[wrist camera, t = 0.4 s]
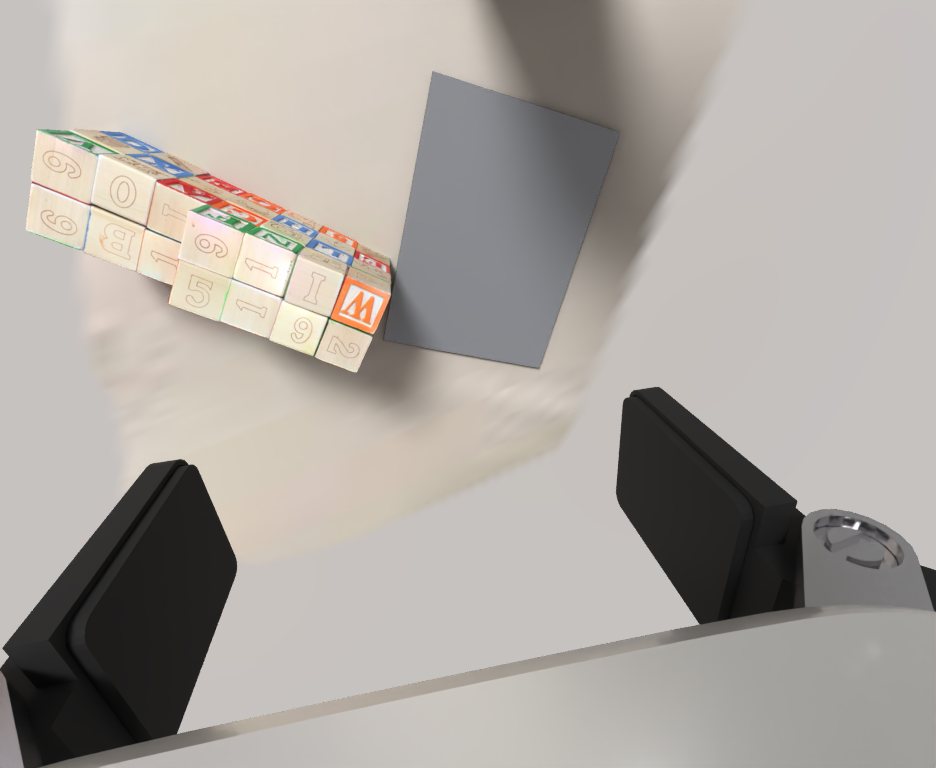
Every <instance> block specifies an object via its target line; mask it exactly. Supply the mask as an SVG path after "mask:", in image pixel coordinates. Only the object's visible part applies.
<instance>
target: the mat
mask: <svg viewBox="0 0 936 768" xmlns="http://www.w3.org/2000/svg"><path fill="white" fill-rule="evenodd" d="M619 135H620V132H618V131H615V130H611V129H608V128H605V127H602V126H599V125H596V124H593V123H590V122H587V121H584V120H581V119H578V118H575V117H572V116H569V115H565V114H562V113H559V112H556V111H553V110H550V109H547V108H544V107H541V106H538V105H535V104H532V103H529V102H526V101H522V100H519V99H516V98H513V97H510V96H507V95H504V94H501V93H498V92H495V91H492V90H489V89H486V88H483V87H480V86H476V85H473V84H470V83H467V82H464V81H461V80H458V79H455V78H452V77H449V76H446V75H443V74H440V73H437V72H434V71H433V72H432V78H431V83H430V89H429V94H428V100H427V105H426V111H425V116H424V121H423V127H422V132H421V138H420V143H419V149H418V154H417V160H416V165H415V171H414V176H413V182H412V187H411V192H410V198H409V203H408V209H407V214H406V220H405V225H404V231H403V236H402V242H401V247H400V253H399V258H398V263H397V269H396V274H395V280H394V285H393V291H392V296H391V302H390V307H389V313H388V318H387V324H386V329H385V334H384V341H389V342H395V343H400V344H406V345H412V346H417V347H423V348H429V349H434V350H440V351H446V352H451V353H457V354H463V355H468V356H474V357H479V358H485V359H491V360H496V361H502V362H508V363H513V364H519V365H525V366H530V367H536V368H539V367H540V364H541V362H542V359H543V356H544V353H545V350H546V347H547V344H548V341H549V338H550V335H551V332H552V329H553V327H554V324H555V321H556V318H557V315H558V312H559V309H560V306H561V303H562V300H563V297H564V295H565V292H566V289H567V286H568V283H569V280H570V277H571V274H572V271H573V268H574V265H575V263H576V260H577V257H578V254H579V251H580V248H581V245H582V242H583V239H584V236H585V233H586V231H587V228H588V225H589V222H590V219H591V216H592V213H593V210H594V207H595V204H596V201H597V199H598V196H599V193H600V190H601V187H602V184H603V181H604V178H605V175H606V172H607V169H608V167H609V164H610V161H611V158H612V155H613V152H614V149H615V146H616V143H617V140H618V137H619Z"/></svg>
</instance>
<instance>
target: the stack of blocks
mask: <svg viewBox="0 0 936 768" xmlns="http://www.w3.org/2000/svg"><path fill="white" fill-rule="evenodd" d="M31 180H32V185H31V190H30V197H29V205H28V214H27V222H26V230H27V231H29V232H31V233H34V234H37V235H39V236H42V237H45V238H48V239H51V240H53V241H56V242H59V243H61V244H64V245H66V246H69V247H72V248H75V249H78V250H83V251H84V253H86V254H89V255H91V256H94V257H97V258H99V259H102V260H105V261H107V262H110V263H113V264H116V265H119V266H121V267H124V268H126V269H129V270H132V271H136V272H138V273H140V274H142V275H144V276H147V277H150V278H152V279H155V280H158V281H161V282H164V283H167V284H169V285H172V290H171V293H170V297H169V301H168V304H169V305H172V306H175V307H178V308H180V309H183V310H186V311H189V312H192V313H195V314H198V315H200V316H203V317H206V318H209V319H211V320H214V321H217V322H219V321H221V322H223V323H226V324H228V325H231V326H233V327H236V328H239V329H242V330H245V331H248V332H251V333H253V334H256V335H259V336H262V337H265V338H268V339H269V340H270V341H272V342H275V343H278V344H280V345H283V346H286V347H288V348H291V349H294V350H297V351H299V352H302V353H305V354H308V355H311V356H315V357H316V358H317V359H319V360H322V361H325V362H327V363H330V364H333V365H335V366H338V367H341V368H343V369H346V370H349V371H351V372H355V373H356V372H358V369H359V367H360V365H361V363H362V360H363V358H364V356H365V354H366V352H367V349H368V347H369V345H370V343H371V341H372V338H373V334H374V333H375V331H376V329H377V327H378V324H379V322H380V320H381V318H382V316H383V313H384V311H385V309H386V306H387V304H388V302H389V299H390V297H391V275H390V259H389V258H388V257H386V256H384V255H381V254H379V253H377V252H375V251H373V250H371V249H369V248H367V247H365V246H363V245H360V244H358V243H357V242H356V241H354V240H352V239H350V238H348V237H346V236H344V235H342V234H339V233H337V232H335V231H333V230H331V229H329V228H327V227H324V226H322V225H320V224H318V223H316V222H315V221H312V220H310V219H308V218H306V217H304V216H302V215H300V214H297V213H295V212H293V211H291V210H285V209H283V208H282V207H279V206H277V205H275V204H272V203H271V202H269V201H266V200H264V199H262V198H260V197H258V196H256V195H254V194H252V193H247V192H245V191H243V190H241V189H239V188H237V187H235V186H233V185H231V184H228V183H226V182H224V181H222V180H220V179H218V178H216V177H213V176H211V175H209V174H208V172H206V171H204V170H202V169H200V168H198V167H196V166H194V165H192V164H189V163H187V162H185V161H183V160H181V159H179V158H177V157H175V156H172V155H170V154H168V153H164V152H162V151H160V150H158V149H156V148H154V147H152V146H150V145H148V144H146V143H143V142H141V141H139V140H137V139H135V138H133V137H130V136H128V135H126V134H124V133H120V132H105V131H96V130H82V129H70V131H63V130H48V129H47V130H40V129H37V133H36V140H35V149H34V157H33V164H32V171H31Z"/></svg>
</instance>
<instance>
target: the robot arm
mask: <svg viewBox="0 0 936 768" xmlns="http://www.w3.org/2000/svg"><path fill="white" fill-rule="evenodd" d="M616 495H617V499H618V502H619V505H620V507H621V508H622V510H623V511H624V513H625V514H626V516H627V517H628V519H629V520H630V522H631V523H632V525H633V526H634V527H635V529H636V531H637V532H638V534H639V535H640V536H641V538H642V539H643V541H644V542H645V544H646V545H647V547H648V548H649V550H650V551H651V553H652V554H653V556H654V557H655V559H656V560H657V562H658V563H659V564H660V566H661V568H662V569H663V570H664V572H665V573H666V575H667V577H668V578H669V579H670V581H671V582H672V584H673V585H674V587H675V588H676V590H677V591H678V593H679V594H680V596H681V597H682V599H683V600H684V602H685V603H686V605H687V606H688V607H689V609H690V611H691V612H692V613H693V615H694V617H695V618H696V620H697V621H698V623H699V624H700V625H696V626H691V627H685V628H680V629H675V630H670V631H665V632H660V633H655V634H650V635H645V636H641V637H635V638H631V639H626V640H621V641H616V642H611V643H606V644H601V645H596V646H592V647H586V648H581V649H577V650H572V651H567V652H563V653H557V654H552V655H547V656H543V657H537V658H533V659H528V660H523V661H518V662H513V663H509V664H504V665H499V666H494V667H489V668H485V669H480V670H475V671H470V672H465V673H461V674H456V675H451V676H446V677H442V678H437V679H433V680H427V681H423V682H418V683H413V684H408V685H404V686H399V687H395V688H389V689H385V690H380V691H375V692H371V693H366V694H361V695H356V696H352V697H347V698H342V699H338V700H333V701H328V702H323V703H319V704H314V705H310V706H305V707H300V708H296V709H291V710H287V711H282V712H278V713H273V714H268V715H263V716H259V717H254V718H249V719H245V720H241V721H236V722H231V723H226V724H221V725H217V726H212V727H208V728H203V729H199V730H194V731H190V732H185V733H180V734H177V732H178V729H179V727H180V724H181V722H182V719H183V716H184V713H185V711H186V708H187V705H188V702H189V700H190V697H191V695H192V692H193V689H194V687H195V684H196V681H197V678H198V675H199V673H200V670H201V668H202V665H203V662H204V659H205V657H206V654H207V652H208V649H209V646H210V643H211V641H212V638H213V635H214V633H215V630H216V627H217V625H218V622H219V619H220V617H221V614H222V611H223V608H224V606H225V603H226V600H227V598H228V595H229V592H230V590H231V587H232V584H233V582H234V579H235V576H236V572H237V561H236V557H235V554H234V552H233V550H232V547H231V545H230V543H229V540H228V538H227V536H226V534H225V531H224V529H223V527H222V524H221V522H220V520H219V517H218V515H217V513H216V510H215V508H214V506H213V503H212V501H211V499H210V496H209V494H208V492H207V489H206V487H205V485H204V482H203V480H202V478H201V475H200V473H199V471H198V469H197V467H196V466H195V465H188V463H187V462H186V461H185V460H182V459H179V460H173V461H166V462H160V463H153V464H150V465H149V466H148V467H146V469H145V470H144V471H143V472H142V474H141V475H140V476H139V477H138V479H137V480H136V481H135V482H134V484H133V485H132V486H131V487H130V489H129V490H128V491H127V492H126V494H125V495H124V496H123V497H122V499H121V500H120V501H119V503H118V504H117V505H116V506H115V508H114V509H113V510H112V511H111V513H110V514H109V515H108V516H107V518H106V519H105V520H104V521H103V523H102V524H101V525H100V526H99V528H98V529H97V530H96V531H95V533H94V534H93V535H92V536H91V538H90V539H89V540H88V542H87V543H86V544H85V545H84V547H83V548H82V549H81V550H80V552H79V553H78V554H77V555H76V557H75V558H74V559H73V560H72V562H71V563H70V564H69V565H68V567H67V568H66V569H65V570H64V571H63V573H62V574H61V575H60V577H59V578H58V579H57V580H56V582H55V583H54V584H53V585H52V587H51V588H50V589H49V590H48V592H47V593H46V594H45V595H44V597H43V598H42V599H41V600H40V602H39V603H38V604H37V605H36V607H35V608H34V609H33V611H32V612H31V613H30V614H29V615H28V617H27V618H26V619H25V620H24V622H23V623H22V624H21V626H20V627H19V628H18V629H17V630H16V632H15V633H14V634H13V636H12V637H11V638H10V639H9V641H8V642H7V643H6V644H5V645H4V647H3V650H4V651H5V652H6V653H7V654H8V656H9V658H8V659H7V660H6V662H5V663H4V664H3V665H2V667H1V668H0V768H936V570H934V569H930V568H927V567H924V566H921V565H920V564H919V561H918V557H917V555H916V553H915V552H914V550H913V548H912V546H911V545H910V544H909V543H908V542H906V540H905V539H904V538H903V537H902V536H901V535H899V534H898V533H896V532H895V531H893V530H892V529H890V528H889V527H887V526H886V525H884V524H882V523H879V522H877V521H875V520H873V519H871V518H869V517H865V516H863V515H859V514H856V513H853V512H849V511H843V510H837V509H830V510H829V509H823V510H818V511H814V512H811V513H809V514H808V515H807V516H805V515H803V514H802V513H801V512H800V511H799V510H798V509H796V504H797V500H796V499H794V498H793V497H792V496H791V495H789V494H788V493H787V492H786V491H785V490H783V489H782V488H781V487H780V486H778V485H777V484H776V483H775V482H774V481H773V480H771V479H770V478H769V477H768V476H766V475H765V474H764V473H763V472H762V471H760V470H759V469H758V468H757V467H756V466H754V465H753V464H752V463H751V462H750V461H748V460H747V459H746V458H745V457H743V456H742V455H741V454H740V453H738V452H737V451H736V450H735V449H734V448H733V447H731V446H730V445H729V444H728V443H727V442H725V441H724V440H723V439H722V438H721V437H719V436H718V435H717V434H716V433H714V432H713V431H712V430H711V429H710V428H708V427H707V426H706V425H705V424H703V423H702V422H701V421H700V420H699V419H698V418H696V417H695V416H694V415H692V414H691V413H690V412H689V411H688V410H687V409H685V408H684V407H683V406H682V405H681V404H679V403H678V402H677V401H676V400H675V399H673V398H672V397H671V396H670V395H669V394H667V393H666V392H665V391H664V390H663V389H661V388H659V387H653V388H647V389H641V390H634V391H633V392H631V394H630V397H629V398H626V399H625V400H624V402H623V410H622V423H621V436H620V448H619V461H618V474H617V486H616Z"/></svg>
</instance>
